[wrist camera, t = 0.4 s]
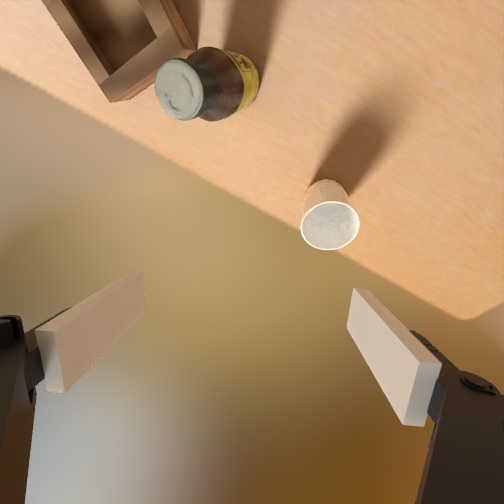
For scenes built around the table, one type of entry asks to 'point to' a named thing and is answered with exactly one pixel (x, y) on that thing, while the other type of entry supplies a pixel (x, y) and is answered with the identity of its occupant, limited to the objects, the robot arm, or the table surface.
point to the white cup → (328, 216)
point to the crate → (123, 40)
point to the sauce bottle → (207, 84)
